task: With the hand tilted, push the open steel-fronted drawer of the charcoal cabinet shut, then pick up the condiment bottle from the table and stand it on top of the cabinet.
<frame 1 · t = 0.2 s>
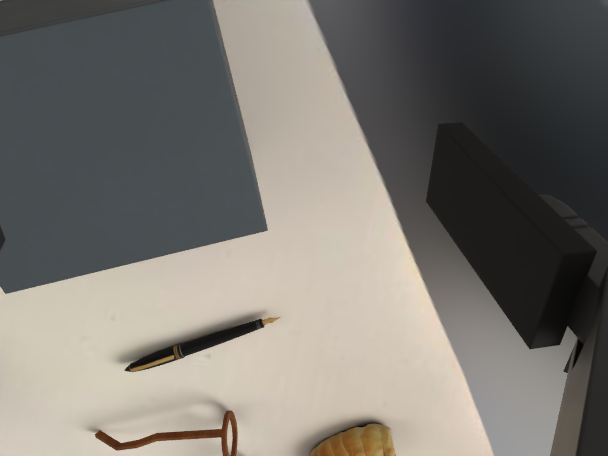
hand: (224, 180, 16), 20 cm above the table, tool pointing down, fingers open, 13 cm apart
cabinet: (115, 92, 33), on the table
pastry: (356, 440, 59), on the table
glasses: (180, 450, 55), on the table
fountain pen: (202, 336, 46), on the table
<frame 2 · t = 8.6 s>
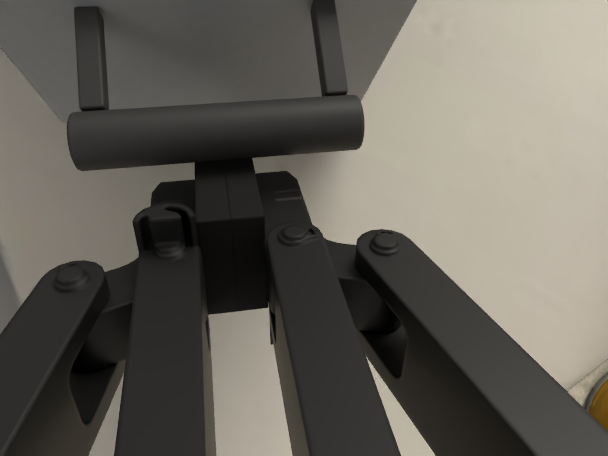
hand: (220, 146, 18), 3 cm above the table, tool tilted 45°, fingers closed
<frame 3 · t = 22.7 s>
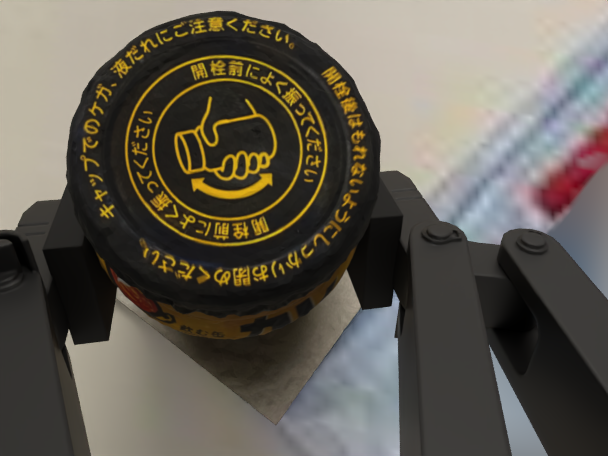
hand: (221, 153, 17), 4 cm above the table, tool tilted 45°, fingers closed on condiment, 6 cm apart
condiment: (246, 273, 20), on the table, touching gripper
when the fingers open (13 cm above the table, at t = 33.5 s): condiment stays where it is, resting on cabinet.
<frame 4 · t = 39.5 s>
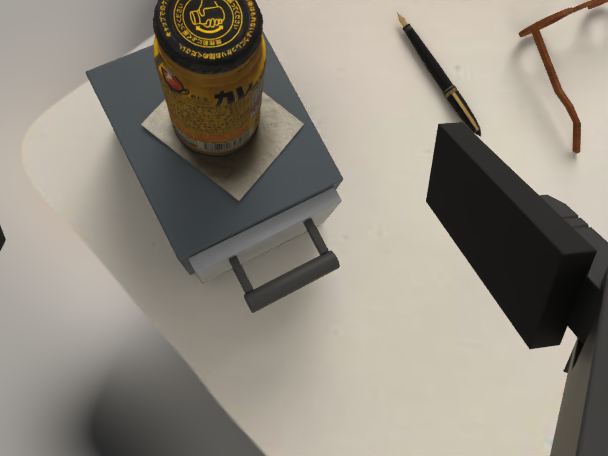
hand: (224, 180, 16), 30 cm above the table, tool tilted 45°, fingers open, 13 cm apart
drawer: (239, 191, 41), point 5 cm above the table, slide at 0.0 cm, touching cabinet
cabinet: (219, 167, 46), on the table
glasses: (591, 75, 53), on the table
condiment: (224, 126, 37), point 9 cm above the table, touching cabinet
fountain pen: (434, 77, 51), on the table
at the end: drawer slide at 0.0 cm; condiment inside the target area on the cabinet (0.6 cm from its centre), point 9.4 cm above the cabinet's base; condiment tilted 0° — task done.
